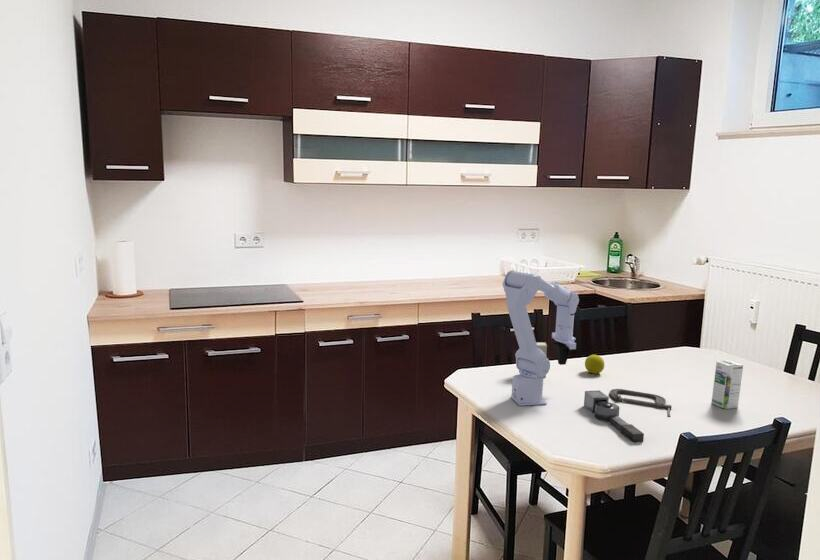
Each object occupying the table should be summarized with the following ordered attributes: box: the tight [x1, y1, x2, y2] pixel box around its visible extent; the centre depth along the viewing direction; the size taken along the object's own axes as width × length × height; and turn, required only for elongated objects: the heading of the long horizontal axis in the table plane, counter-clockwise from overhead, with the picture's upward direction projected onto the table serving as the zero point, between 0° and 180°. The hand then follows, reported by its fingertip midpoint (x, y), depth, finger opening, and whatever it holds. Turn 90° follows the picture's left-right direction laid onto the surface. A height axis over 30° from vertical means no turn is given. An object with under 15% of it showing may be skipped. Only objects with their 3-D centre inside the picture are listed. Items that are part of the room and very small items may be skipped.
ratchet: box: [593, 400, 645, 443], centre depth 175 cm, size 25×7×4 cm, turn 11°
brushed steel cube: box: [583, 390, 610, 414], centre depth 185 cm, size 6×5×5 cm
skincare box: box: [536, 341, 548, 378], centre depth 216 cm, size 6×4×12 cm
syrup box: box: [710, 359, 744, 410], centre depth 190 cm, size 6×6×14 cm
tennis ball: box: [584, 354, 605, 375], centre depth 221 cm, size 7×7×7 cm
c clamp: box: [609, 388, 672, 418], centre depth 193 cm, size 20×17×3 cm
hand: (561, 364), depth 200 cm, fingers closed
